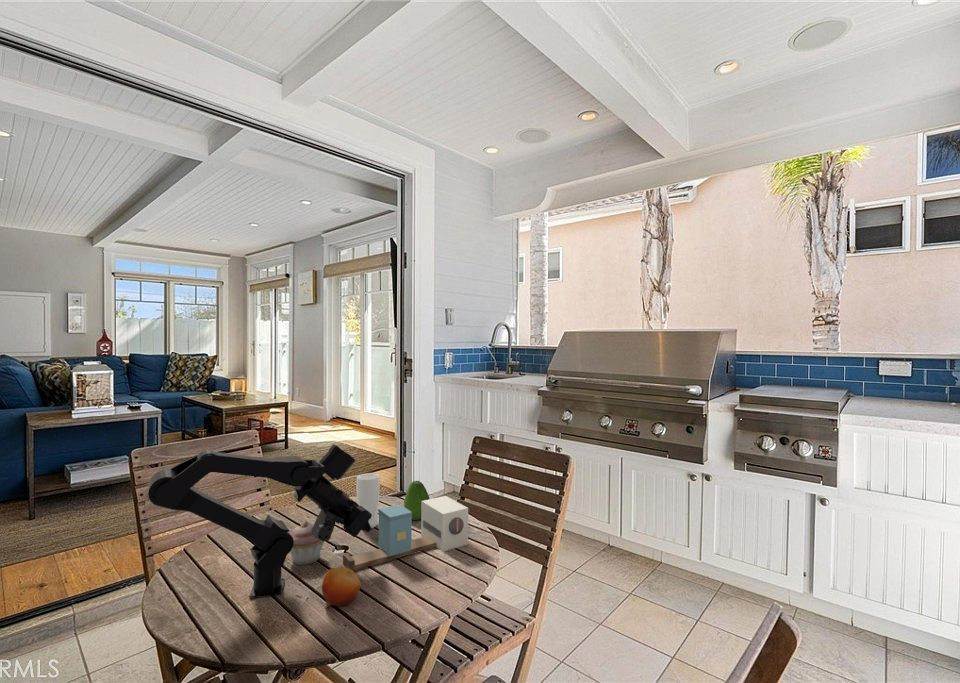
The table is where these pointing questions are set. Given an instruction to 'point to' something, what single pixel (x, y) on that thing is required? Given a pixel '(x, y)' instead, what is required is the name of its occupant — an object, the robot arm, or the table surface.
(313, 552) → the cupcake
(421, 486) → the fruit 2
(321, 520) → the robot arm
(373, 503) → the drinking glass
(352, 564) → the rail
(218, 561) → the table surface
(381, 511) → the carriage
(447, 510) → the cabinet
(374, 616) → the table surface
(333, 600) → the fruit
